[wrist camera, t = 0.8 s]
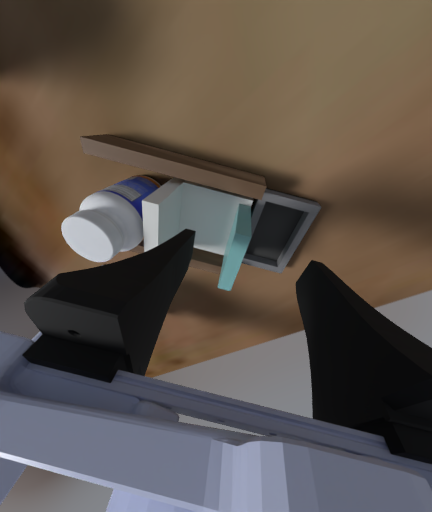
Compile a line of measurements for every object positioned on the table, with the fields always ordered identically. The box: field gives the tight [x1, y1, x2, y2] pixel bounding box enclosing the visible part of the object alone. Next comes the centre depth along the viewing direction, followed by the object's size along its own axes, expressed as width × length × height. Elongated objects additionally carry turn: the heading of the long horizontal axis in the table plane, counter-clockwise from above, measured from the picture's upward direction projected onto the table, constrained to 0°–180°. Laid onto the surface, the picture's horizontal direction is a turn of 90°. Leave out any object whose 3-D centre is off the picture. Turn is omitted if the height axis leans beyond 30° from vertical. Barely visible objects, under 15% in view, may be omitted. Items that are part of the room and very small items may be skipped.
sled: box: [142, 177, 253, 291], centre depth 18 cm, size 7×8×8 cm
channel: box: [80, 134, 267, 274], centre depth 20 cm, size 11×16×4 cm
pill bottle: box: [62, 175, 161, 262], centre depth 17 cm, size 5×5×10 cm
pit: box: [241, 188, 321, 273], centre depth 21 cm, size 9×6×2 cm, turn 168°
